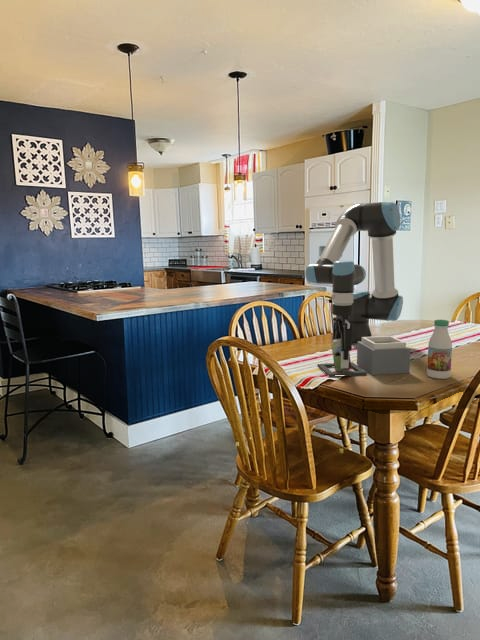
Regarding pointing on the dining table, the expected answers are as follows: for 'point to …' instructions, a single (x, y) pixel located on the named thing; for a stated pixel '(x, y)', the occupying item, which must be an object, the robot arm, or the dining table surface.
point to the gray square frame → (351, 373)
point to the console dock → (383, 355)
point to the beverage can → (338, 355)
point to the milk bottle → (439, 351)
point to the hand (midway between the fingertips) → (341, 365)
